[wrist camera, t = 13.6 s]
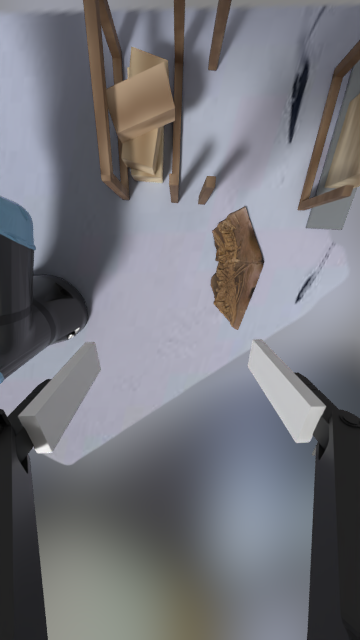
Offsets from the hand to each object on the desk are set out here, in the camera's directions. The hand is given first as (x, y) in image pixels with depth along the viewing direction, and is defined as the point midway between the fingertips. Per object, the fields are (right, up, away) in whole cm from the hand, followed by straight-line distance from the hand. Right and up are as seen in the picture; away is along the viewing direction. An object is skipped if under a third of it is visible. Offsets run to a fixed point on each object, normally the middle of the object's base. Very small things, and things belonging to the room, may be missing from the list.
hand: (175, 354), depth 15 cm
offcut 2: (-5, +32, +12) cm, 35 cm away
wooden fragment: (+13, +13, +23) cm, 29 cm away
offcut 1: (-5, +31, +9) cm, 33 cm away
